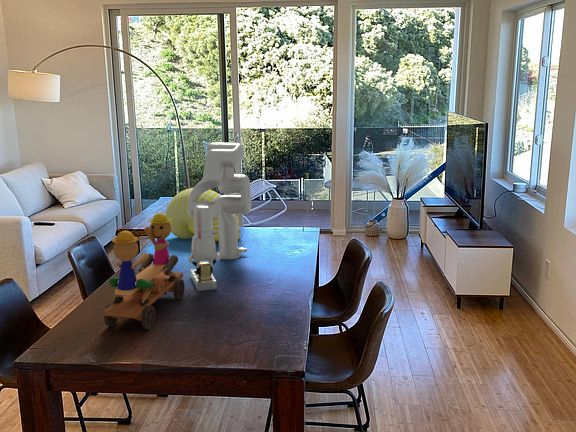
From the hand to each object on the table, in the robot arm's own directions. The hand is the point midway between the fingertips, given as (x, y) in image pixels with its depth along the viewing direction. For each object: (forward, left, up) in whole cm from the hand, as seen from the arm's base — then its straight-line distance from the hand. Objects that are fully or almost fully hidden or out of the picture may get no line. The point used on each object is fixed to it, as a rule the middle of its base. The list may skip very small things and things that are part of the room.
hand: (204, 274), depth 247 cm
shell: (-13, -78, -5) cm, 79 cm away
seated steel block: (0, -9, -5) cm, 10 cm away
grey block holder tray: (0, -5, -5) cm, 7 cm away
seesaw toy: (+26, +21, -5) cm, 34 cm away
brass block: (0, 0, -3) cm, 3 cm away
